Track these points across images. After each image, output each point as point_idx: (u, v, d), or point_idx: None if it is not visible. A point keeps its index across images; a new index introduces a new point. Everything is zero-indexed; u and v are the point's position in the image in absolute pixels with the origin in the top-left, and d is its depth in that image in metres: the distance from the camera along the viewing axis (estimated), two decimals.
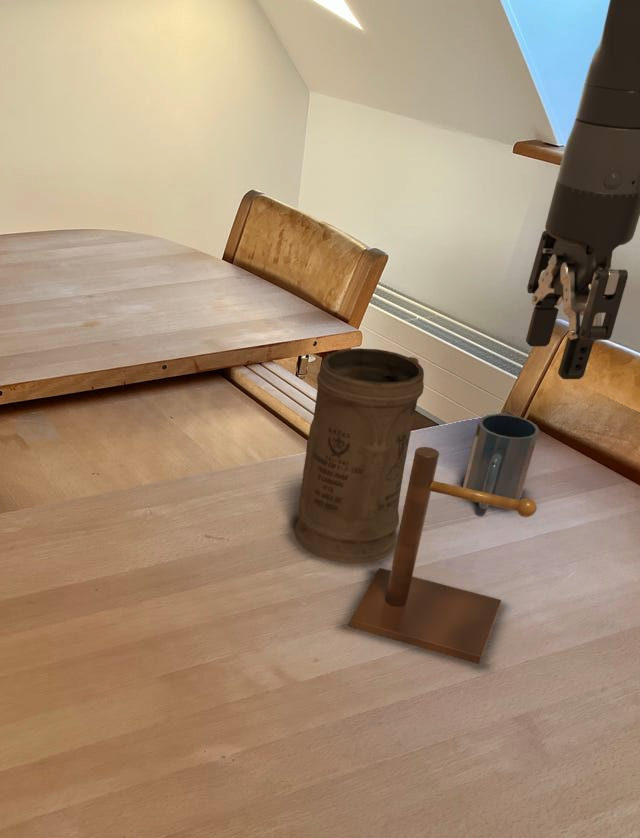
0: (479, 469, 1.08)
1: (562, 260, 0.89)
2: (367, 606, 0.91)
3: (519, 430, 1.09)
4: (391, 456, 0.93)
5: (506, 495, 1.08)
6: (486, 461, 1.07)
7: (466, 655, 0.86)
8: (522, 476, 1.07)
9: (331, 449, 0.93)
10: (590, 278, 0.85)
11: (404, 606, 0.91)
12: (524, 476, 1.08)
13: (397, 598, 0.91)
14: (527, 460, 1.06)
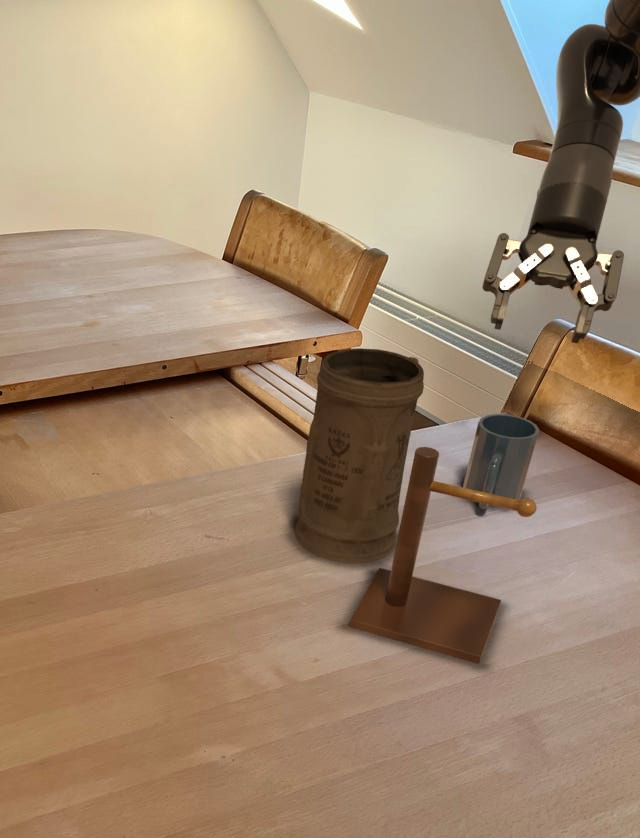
0: (479, 469, 1.08)
1: None
2: (367, 606, 0.91)
3: (519, 430, 1.09)
4: (391, 456, 0.93)
5: (506, 495, 1.08)
6: (486, 461, 1.07)
7: (466, 655, 0.86)
8: (522, 476, 1.07)
9: (331, 449, 0.93)
10: None
11: (404, 606, 0.91)
12: (524, 476, 1.08)
13: (397, 598, 0.91)
14: (527, 460, 1.06)
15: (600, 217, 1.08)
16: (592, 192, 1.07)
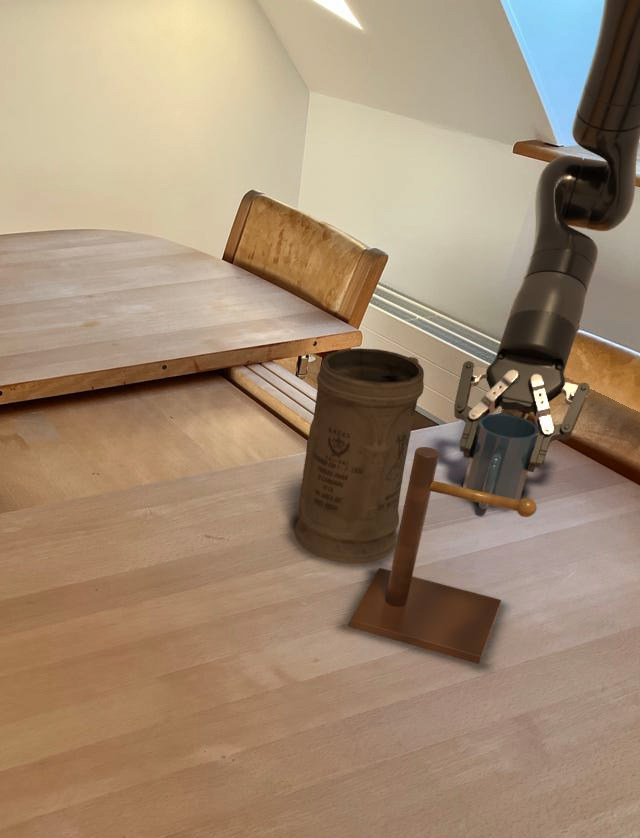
0: (479, 469, 1.08)
1: None
2: (367, 606, 0.91)
3: (519, 430, 1.09)
4: (391, 456, 0.93)
5: (506, 495, 1.08)
6: (485, 461, 1.07)
7: (466, 655, 0.86)
8: (522, 476, 1.07)
9: (331, 449, 0.93)
10: (486, 379, 1.10)
11: (404, 606, 0.91)
12: (524, 476, 1.08)
13: (397, 598, 0.91)
14: (527, 460, 1.06)
15: (568, 345, 1.06)
16: (559, 320, 1.05)
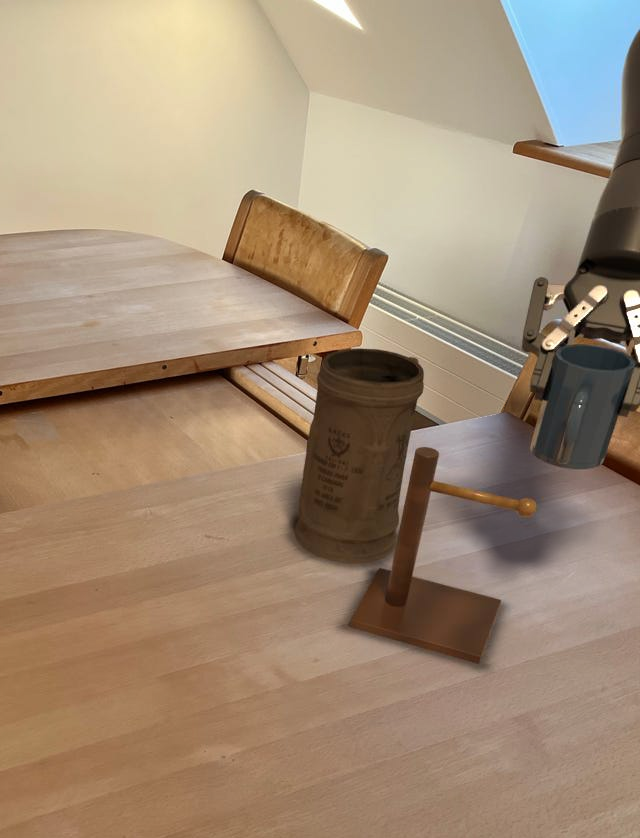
0: (557, 413, 0.84)
1: None
2: (367, 606, 0.91)
3: (606, 364, 0.85)
4: (391, 456, 0.93)
5: (590, 447, 0.84)
6: (565, 403, 0.83)
7: (466, 655, 0.86)
8: (612, 422, 0.84)
9: (331, 449, 0.93)
10: (563, 300, 0.87)
11: (404, 606, 0.91)
12: (614, 422, 0.84)
13: (397, 598, 0.91)
14: (619, 401, 0.83)
15: None
16: None
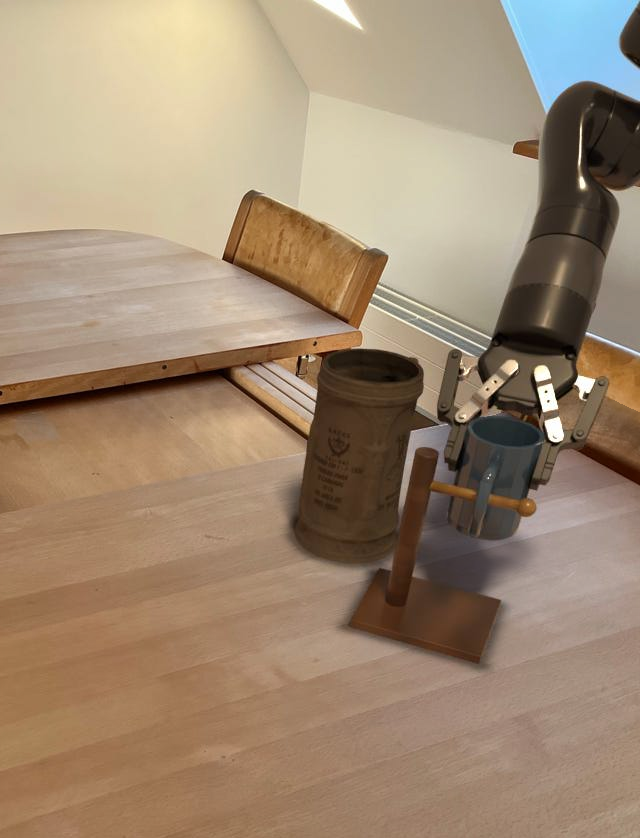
0: (469, 486, 0.85)
1: None
2: (367, 606, 0.91)
3: (519, 436, 0.86)
4: (391, 456, 0.93)
5: (502, 519, 0.85)
6: (476, 476, 0.84)
7: (466, 655, 0.86)
8: (523, 495, 0.84)
9: (331, 449, 0.93)
10: (478, 371, 0.87)
11: (404, 606, 0.91)
12: (525, 495, 0.85)
13: (397, 598, 0.91)
14: (529, 475, 0.83)
15: (582, 328, 0.83)
16: (571, 296, 0.82)
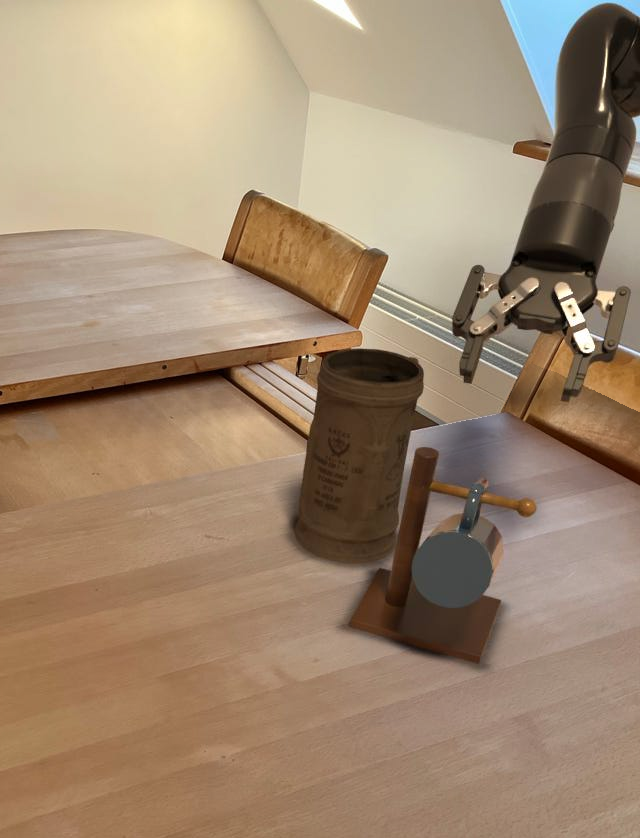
0: (448, 522, 0.83)
1: None
2: (367, 606, 0.91)
3: None
4: (391, 456, 0.93)
5: (485, 539, 0.80)
6: (456, 519, 0.84)
7: (466, 655, 0.86)
8: (496, 552, 0.82)
9: (331, 449, 0.93)
10: (498, 292, 0.89)
11: (404, 606, 0.91)
12: (497, 558, 0.82)
13: (397, 598, 0.91)
14: (499, 549, 0.83)
15: (601, 245, 0.85)
16: (590, 213, 0.84)
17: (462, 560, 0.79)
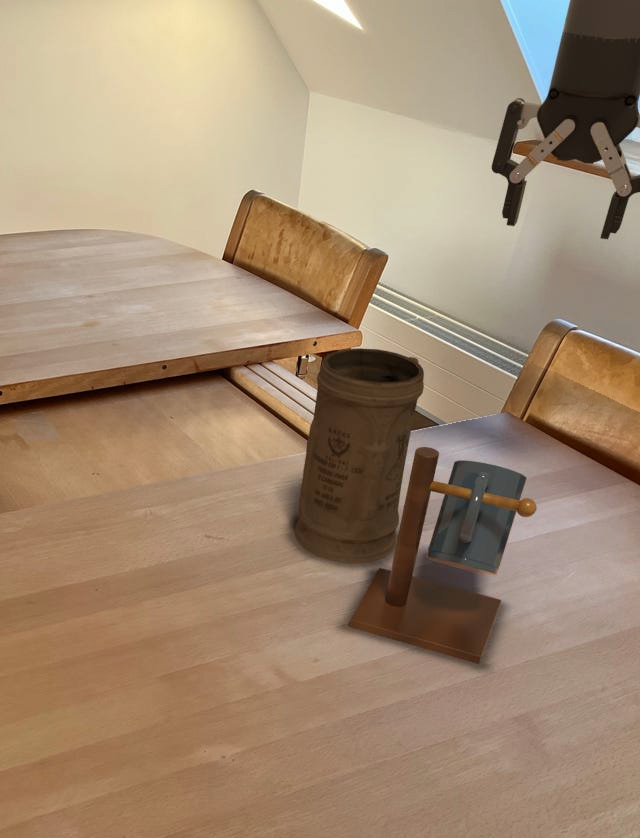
0: (456, 509, 0.86)
1: None
2: (367, 606, 0.91)
3: None
4: (391, 456, 0.93)
5: (487, 545, 0.85)
6: None
7: (466, 655, 0.86)
8: (506, 527, 0.86)
9: (331, 449, 0.93)
10: None
11: (404, 606, 0.91)
12: (508, 530, 0.86)
13: (397, 598, 0.91)
14: None
15: None
16: (626, 46, 0.79)
17: (468, 567, 0.87)
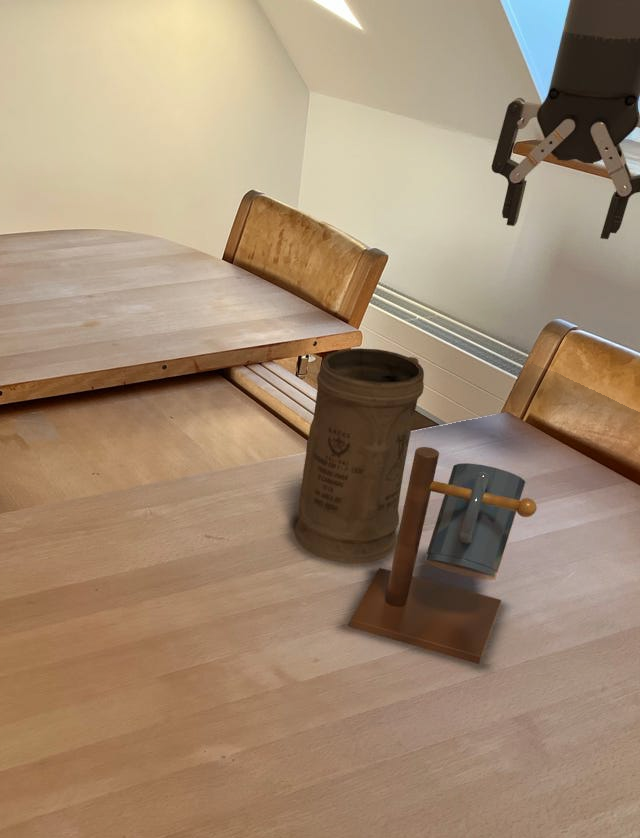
0: (455, 511, 0.86)
1: None
2: (367, 606, 0.91)
3: None
4: (391, 456, 0.93)
5: (486, 547, 0.85)
6: (464, 499, 0.85)
7: (466, 655, 0.86)
8: (506, 530, 0.86)
9: (331, 449, 0.93)
10: None
11: (404, 606, 0.91)
12: (507, 533, 0.86)
13: (397, 598, 0.91)
14: (512, 510, 0.86)
15: None
16: (626, 46, 0.79)
17: (466, 570, 0.87)
